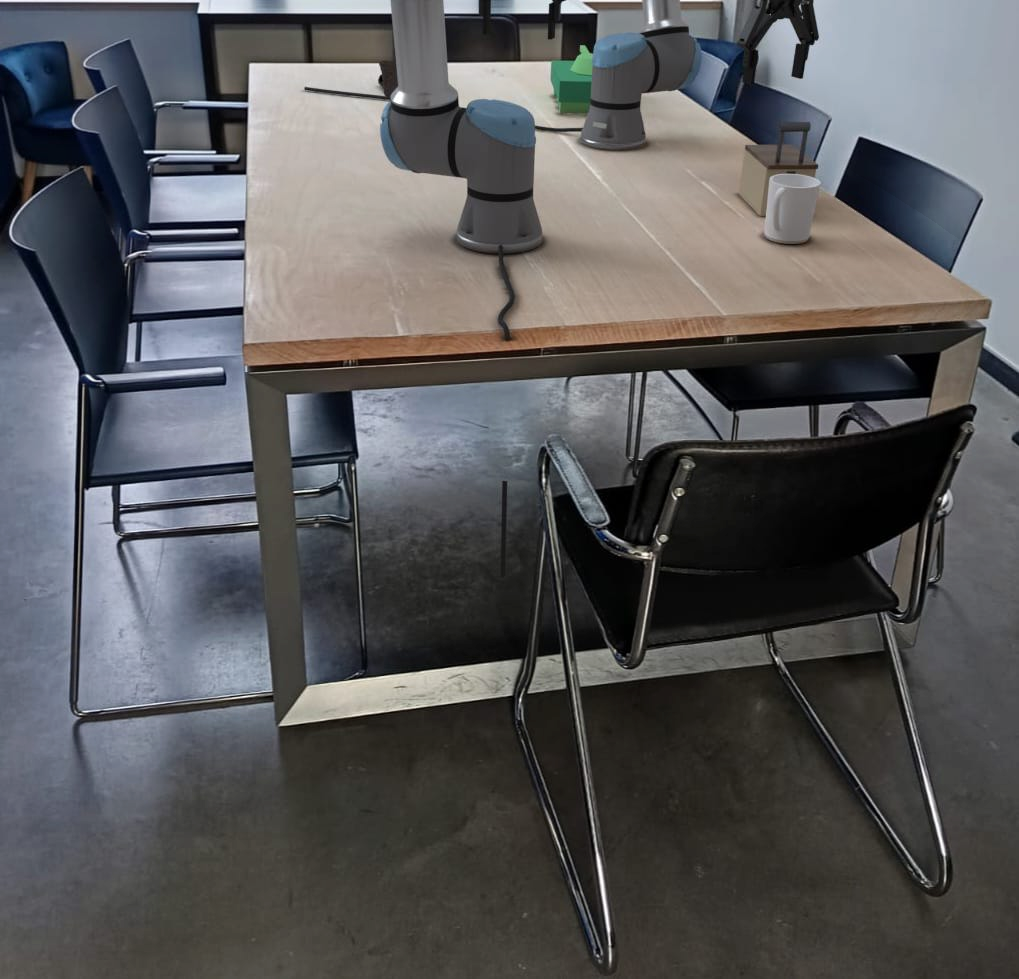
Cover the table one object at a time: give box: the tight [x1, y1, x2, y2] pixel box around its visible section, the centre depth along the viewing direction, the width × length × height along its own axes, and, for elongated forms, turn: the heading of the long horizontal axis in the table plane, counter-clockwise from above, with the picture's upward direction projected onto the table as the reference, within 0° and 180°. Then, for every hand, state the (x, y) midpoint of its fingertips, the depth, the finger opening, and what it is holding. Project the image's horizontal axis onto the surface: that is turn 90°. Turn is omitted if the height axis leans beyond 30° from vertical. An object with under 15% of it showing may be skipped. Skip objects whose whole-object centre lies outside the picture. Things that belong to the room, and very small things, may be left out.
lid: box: [744, 121, 819, 170], centre depth 210 cm, size 15×10×8 cm, turn 6°
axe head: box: [377, 59, 398, 97], centre depth 299 cm, size 18×8×15 cm
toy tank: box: [550, 44, 593, 115], centre depth 290 cm, size 18×12×35 cm
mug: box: [763, 174, 822, 245], centre depth 197 cm, size 11×9×10 cm
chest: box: [738, 148, 817, 217], centre depth 215 cm, size 14×10×9 cm
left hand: (518, 36), depth 220 cm, fingers open, 13 cm apart
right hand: (772, 80), depth 227 cm, fingers open, 13 cm apart
